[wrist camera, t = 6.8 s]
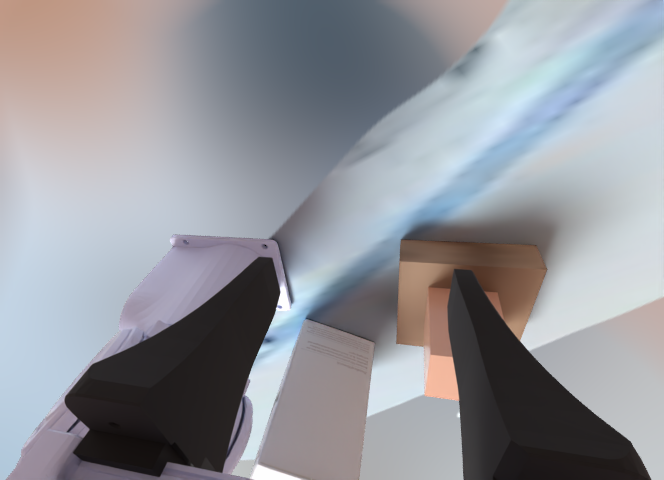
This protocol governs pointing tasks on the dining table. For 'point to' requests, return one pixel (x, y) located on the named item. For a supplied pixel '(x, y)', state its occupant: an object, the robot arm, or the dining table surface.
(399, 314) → the walnut box
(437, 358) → the terracotta block
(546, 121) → the dining table surface
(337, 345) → the supplement box
